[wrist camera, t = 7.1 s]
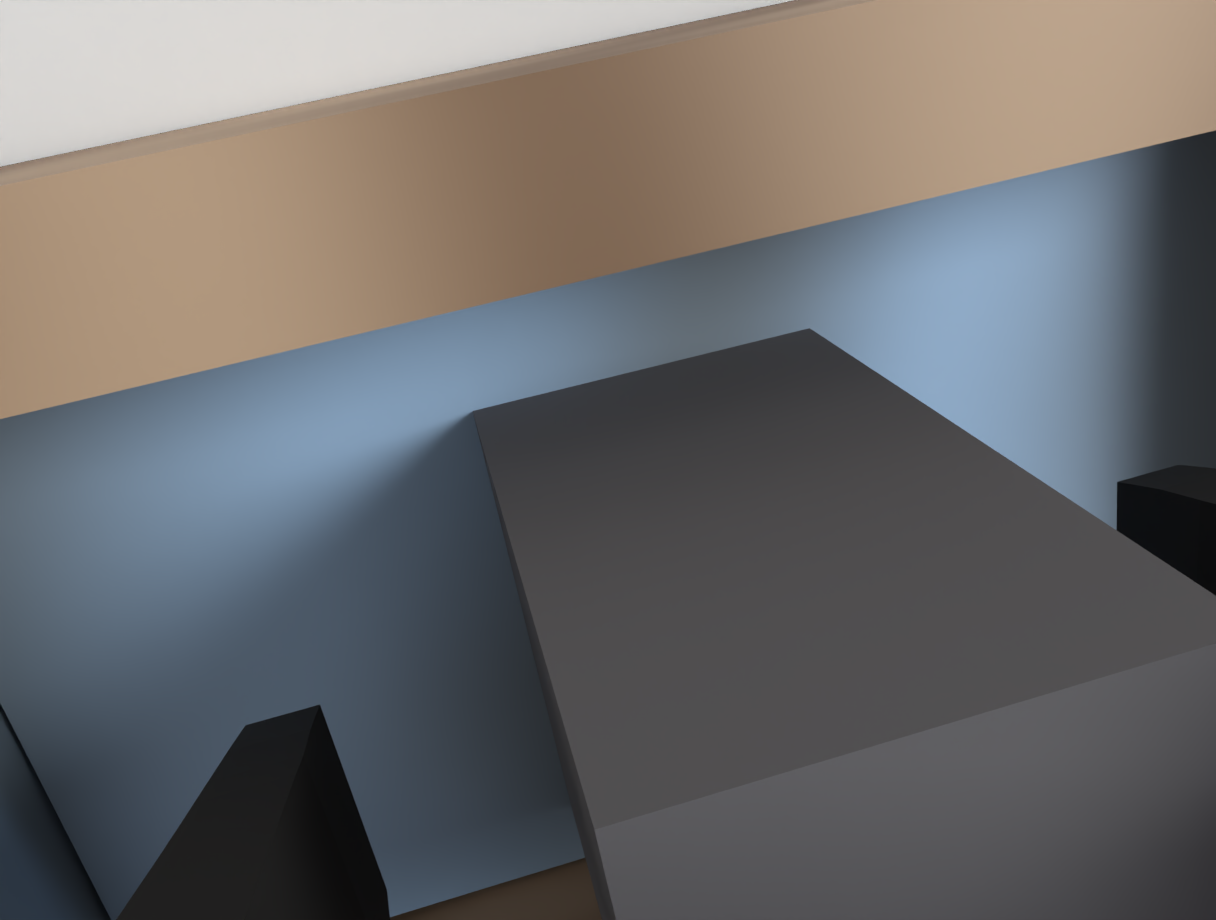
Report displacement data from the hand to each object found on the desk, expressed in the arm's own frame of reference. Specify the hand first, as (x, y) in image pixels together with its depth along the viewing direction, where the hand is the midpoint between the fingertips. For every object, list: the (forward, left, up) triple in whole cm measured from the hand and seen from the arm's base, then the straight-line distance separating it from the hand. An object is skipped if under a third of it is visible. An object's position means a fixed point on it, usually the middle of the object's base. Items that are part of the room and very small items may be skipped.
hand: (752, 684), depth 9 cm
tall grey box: (0, 0, -2) cm, 2 cm away
